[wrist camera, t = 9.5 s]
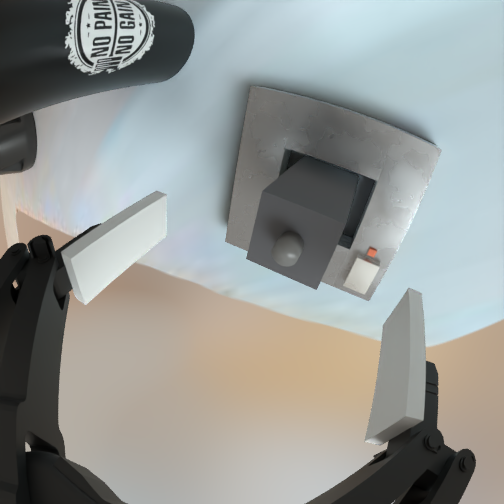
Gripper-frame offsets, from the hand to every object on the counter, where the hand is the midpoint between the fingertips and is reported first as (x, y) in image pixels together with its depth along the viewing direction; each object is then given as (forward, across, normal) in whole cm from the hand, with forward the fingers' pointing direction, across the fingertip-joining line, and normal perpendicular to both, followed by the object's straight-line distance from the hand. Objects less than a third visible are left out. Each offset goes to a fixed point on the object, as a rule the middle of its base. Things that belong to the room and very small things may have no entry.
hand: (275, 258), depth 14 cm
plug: (+11, 0, 0) cm, 11 cm away
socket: (+11, +1, 0) cm, 11 cm away
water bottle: (+11, -18, +10) cm, 23 cm away
